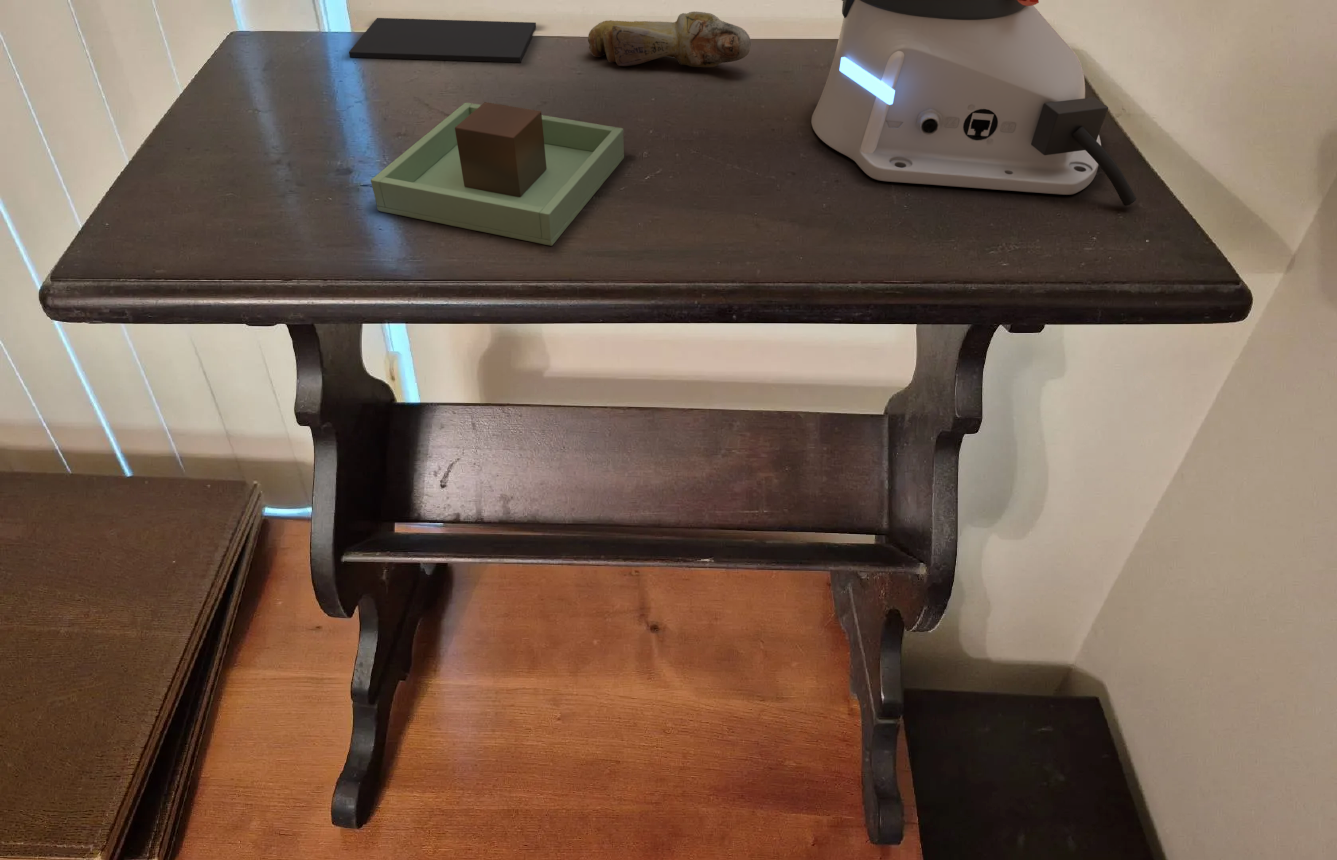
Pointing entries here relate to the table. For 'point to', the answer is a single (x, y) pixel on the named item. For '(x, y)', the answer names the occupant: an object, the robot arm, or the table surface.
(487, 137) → the block
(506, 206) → the tray
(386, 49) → the mat
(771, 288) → the table surface
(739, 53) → the figurine
